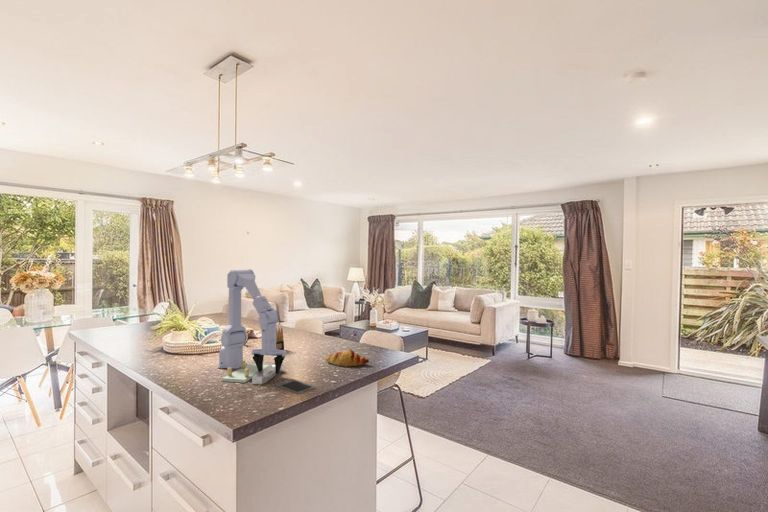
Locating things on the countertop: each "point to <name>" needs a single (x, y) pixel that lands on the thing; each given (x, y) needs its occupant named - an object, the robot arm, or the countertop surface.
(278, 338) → the ammunition clip
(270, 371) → the grey bar
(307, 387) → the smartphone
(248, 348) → the countertop surface
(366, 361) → the croissant
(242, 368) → the rack
